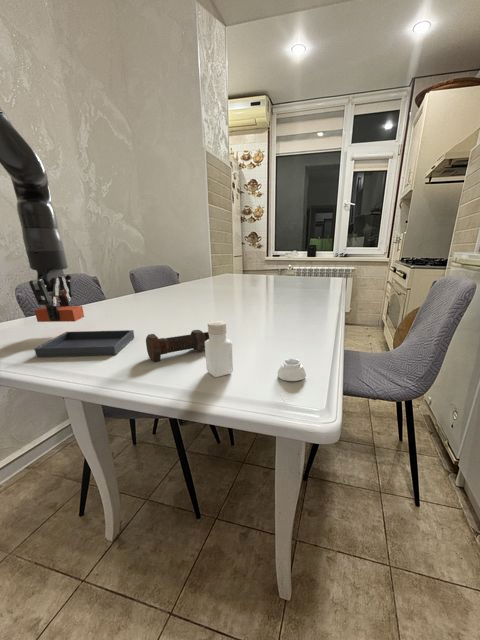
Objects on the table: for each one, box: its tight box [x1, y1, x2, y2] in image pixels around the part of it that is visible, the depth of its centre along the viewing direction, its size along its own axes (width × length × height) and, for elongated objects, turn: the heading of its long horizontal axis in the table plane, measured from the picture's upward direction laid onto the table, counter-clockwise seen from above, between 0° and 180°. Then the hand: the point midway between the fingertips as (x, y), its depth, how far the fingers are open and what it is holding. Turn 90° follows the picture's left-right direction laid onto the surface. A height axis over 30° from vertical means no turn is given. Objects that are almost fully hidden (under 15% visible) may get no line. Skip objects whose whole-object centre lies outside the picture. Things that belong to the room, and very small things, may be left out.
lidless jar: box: [277, 358, 307, 382], centre depth 52 cm, size 5×3×5 cm
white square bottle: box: [204, 320, 234, 378], centre depth 52 cm, size 4×4×10 cm
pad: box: [34, 305, 85, 323], centre depth 75 cm, size 9×5×3 cm, turn 95°
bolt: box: [145, 329, 209, 363], centre depth 63 cm, size 6×5×15 cm
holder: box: [33, 329, 135, 358], centre depth 67 cm, size 16×12×2 cm
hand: (61, 317), depth 75 cm, fingers closed on pad, 5 cm apart
